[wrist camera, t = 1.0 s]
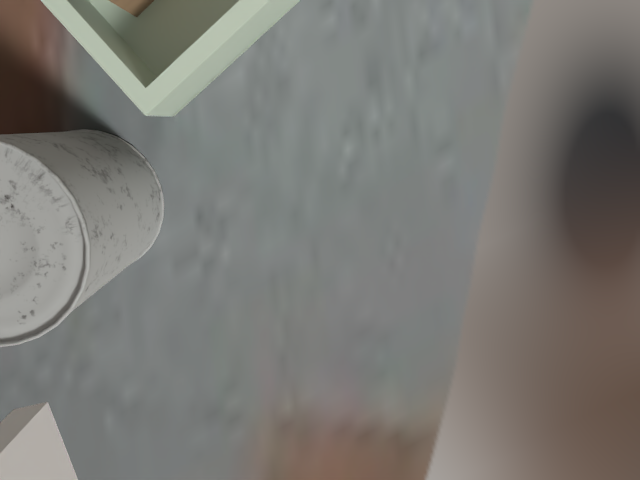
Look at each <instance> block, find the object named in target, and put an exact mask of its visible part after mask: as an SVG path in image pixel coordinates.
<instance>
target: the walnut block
mask: <svg viewBox="0 0 640 480" xmlns="http://www.w3.org/2000/svg"><path fill="white" fill-rule="evenodd" d="M109 1H110V2H112V3H114V4H115V5H117V6H119V7H120V8H122V9H124V10H125V11H127V12H129V13H130V14H132V15H134V16H135V17H138V16H139V15H140V14H141V13H142V12H143V11H144V10H145V9H146V8H147V7H148V6H149V5H150V4H151V3H152V2H153V1H154V0H109Z"/></svg>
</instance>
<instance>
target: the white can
mask: <svg viewBox="0 0 640 480" xmlns="http://www.w3.org/2000/svg"><path fill="white" fill-rule="evenodd" d="M163 218H164V198H163V193H162V187H161V185H160V182H159V180H158V177H157V175H156V173H155V171H154V169H153V168H152V166H151V165H150V164H149V162H148V161H147V159H146V158H145V157H144V156H143V155H142V154H141V153H140V152H139V151H138V150H137V149H136V148H135V147H133V146H132V145H131V144H129V143H127V142H126V141H124V140H122V139H121V138H119V137H117V136H114V135H111V134H108V133H105V132H102V131H96V130H87V129H82V130H73V131H66V132H46V133H24V134H2V135H0V347H3V346H12V345H19V344H22V343H25V342H27V341H30V340H33V339H36V338H39V337H41V336H42V335H44V334H45V333H47V332H48V331H50V330H52V329H53V328H55V327H56V326H58V325H59V324H60V323H61V322H62V321H63V320H64V319H65V318H66V317H67V316H68V315H69V314H70V313H71V312H72V311H73V310H74V309H75V308H77V307H78V306H79V305H80V304H82V303H83V302H84V301H85V300H87V299H88V298H89V297H90V296H92V295H93V294H94V293H95V292H96V291H98V290H99V289H100V288H101V287H103V286H104V285H105V284H106V283H108V282H109V281H110V280H111V279H113V278H114V277H115V276H116V275H117V274H119V273H120V272H121V271H122V270H124V269H125V268H126V267H127V266H129V265H130V264H131V263H133V262H135V261H136V260H138V259H139V258H141V257H142V256H143V255H144V254H145V253H146V252H147V251H148V250H149V248H150V247H151V246H152V245H153V243H154V241H155V240H156V238H157V236H158V234H159V232H160V229H161V225H162V222H163Z"/></svg>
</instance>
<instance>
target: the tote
mask: <svg viewBox="0 0 640 480" xmlns="http://www.w3.org/2000/svg"><path fill="white" fill-rule="evenodd" d="M41 1H42V2H43V3H44V5H45V6H46V7H47V8H48V9H49V10H50V11H51V12H52V13H53V14H54V16H55V17H56V18H57V19H58V20H59V21H60V22H61V23H62V24H63V25H64V27H65V28H66V29H67V30H68V31H69V32H70V33H71V34H72V35H73V36H74V38H75V39H76V40H77V41H78V42H79V43H80V44H81V45H82V46H83V47H84V49H85V50H86V51H87V52H88V53H89V54H90V55H91V56H92V57H93V58H94V60H95V61H96V62H97V63H98V64H99V65H100V66H101V67H102V68H103V70H104V71H105V72H106V73H107V74H108V75H109V76H110V77H111V78H112V79H113V81H114V82H115V83H116V84H117V85H118V86H119V87H120V88H121V89H122V90H123V92H124V93H125V94H126V95H127V96H128V97H129V98H130V99H131V100H132V101H133V103H134V104H135V105H136V106H137V107H138V108H139V109H140V110H141V111H142V112H143V114H144V115H145V116H169V117H174V116H175V115H176V114H177V113H178V112H180V111H181V110H182V109H183V108H184V107H185V106H186V105H187V104H188V103H189V102H190V101H192V100H193V99H194V98H195V97H196V96H197V95H198V94H199V93H200V92H201V91H202V90H203V89H205V88H206V87H207V86H208V85H209V84H210V83H211V82H212V81H213V80H214V79H215V78H217V77H218V76H219V75H220V74H221V73H222V72H223V71H224V70H225V69H226V68H227V67H228V66H230V65H231V64H232V63H233V62H234V61H235V60H236V59H237V58H238V57H239V56H240V55H242V54H243V53H244V52H245V51H246V50H247V49H248V48H249V47H250V46H251V45H252V44H253V43H255V42H256V41H257V40H258V39H259V38H260V37H261V36H262V35H263V34H264V33H265V32H267V31H268V30H269V29H270V28H271V27H272V26H273V25H274V24H275V23H276V22H277V21H279V20H280V19H281V18H282V17H283V16H284V15H285V14H286V13H287V12H288V11H289V10H290V9H292V8H293V7H294V6H295V5H296V4H297V3H298V2H299V1H300V0H154V1H153V2H152V3H151V4H150V5H149V6H148V7H147V8H146V9H145V10H144V11H143V12H142V13H141V14H140V15H139V16H138V17H135V16H134V15H132V14H130V13H129V12H127V11H125V10H124V9H122V8H120V7H119V6H117V5H115V4H114V3H112V2H110V1H109V0H41Z"/></svg>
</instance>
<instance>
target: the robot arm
mask: <svg viewBox="0 0 640 480" xmlns="http://www.w3.org/2000/svg"><path fill="white" fill-rule="evenodd" d="M0 480H78V479H77V476H76V474H75V471H74V469H73V466H72V463H71V461H70V458H69V456H68V453H67V450H66V448H65V445H64V443H63V440H62V438H61V435H60V432H59V430H58V427H57V425H56V422H55V419H54V417H53V414H52V412H51V409H50V407H49V404H48V402H45V403H41V404H36V405H32V406H27V407H23V408H18V409H14V410H13V411H12V412H11V413H10V414H9V415H8V416H7V417H6V418H5V419H4V420H3V421H2V422H1V423H0Z"/></svg>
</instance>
